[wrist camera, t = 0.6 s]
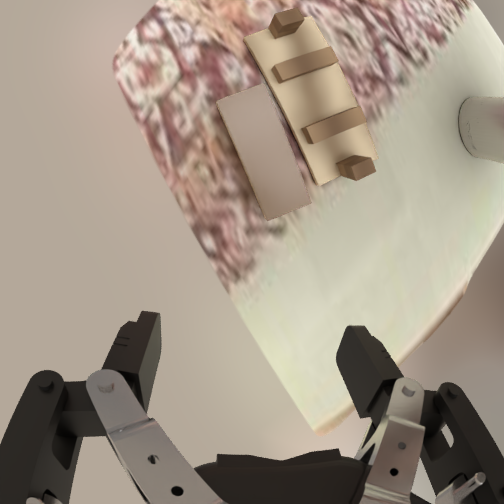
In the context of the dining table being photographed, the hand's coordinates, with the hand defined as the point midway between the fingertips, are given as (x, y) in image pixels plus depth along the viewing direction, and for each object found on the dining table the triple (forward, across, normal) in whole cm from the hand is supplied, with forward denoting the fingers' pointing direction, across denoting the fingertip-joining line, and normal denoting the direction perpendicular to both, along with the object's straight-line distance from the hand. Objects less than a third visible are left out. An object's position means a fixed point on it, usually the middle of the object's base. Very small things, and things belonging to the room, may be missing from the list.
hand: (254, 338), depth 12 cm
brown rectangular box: (+22, -1, -7) cm, 23 cm away
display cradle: (+21, -6, -14) cm, 26 cm away
